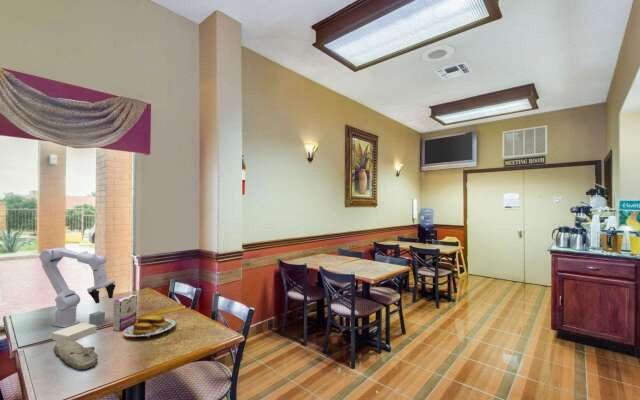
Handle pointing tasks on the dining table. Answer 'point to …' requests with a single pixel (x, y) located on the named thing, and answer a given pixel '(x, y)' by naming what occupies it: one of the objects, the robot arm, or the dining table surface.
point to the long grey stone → (76, 354)
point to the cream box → (74, 332)
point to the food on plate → (149, 326)
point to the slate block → (97, 318)
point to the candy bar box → (124, 312)
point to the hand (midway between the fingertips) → (104, 300)
